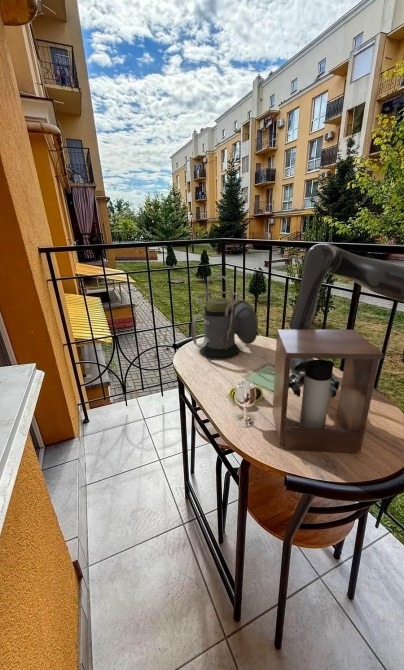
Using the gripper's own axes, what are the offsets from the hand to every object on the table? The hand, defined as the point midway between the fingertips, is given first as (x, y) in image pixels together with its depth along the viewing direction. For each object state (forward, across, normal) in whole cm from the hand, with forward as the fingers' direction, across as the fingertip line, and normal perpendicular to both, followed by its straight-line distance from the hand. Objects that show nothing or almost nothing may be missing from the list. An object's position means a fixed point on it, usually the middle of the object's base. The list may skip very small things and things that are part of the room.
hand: (316, 394), depth 72 cm
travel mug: (0, 0, +11) cm, 11 cm away
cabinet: (0, 0, +11) cm, 11 cm away
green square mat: (-27, -7, +11) cm, 30 cm away
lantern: (-54, -24, +11) cm, 60 cm away
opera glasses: (-13, -18, +11) cm, 25 cm away
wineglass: (-2, -18, +11) cm, 21 cm away
